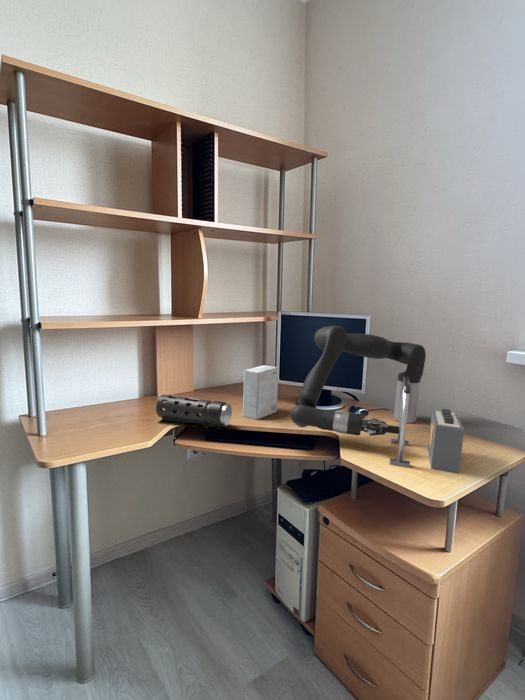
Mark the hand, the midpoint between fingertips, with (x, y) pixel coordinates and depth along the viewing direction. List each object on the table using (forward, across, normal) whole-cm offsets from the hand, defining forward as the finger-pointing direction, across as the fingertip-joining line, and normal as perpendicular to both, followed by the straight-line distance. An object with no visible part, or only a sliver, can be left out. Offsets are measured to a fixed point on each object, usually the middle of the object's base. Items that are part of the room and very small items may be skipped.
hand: (399, 430), depth 144 cm
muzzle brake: (-75, -2, +9) cm, 76 cm away
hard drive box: (-56, +22, +8) cm, 61 cm away
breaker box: (+14, 0, +8) cm, 16 cm away
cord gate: (+1, 0, +8) cm, 8 cm away
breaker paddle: (+13, 0, +4) cm, 13 cm away
